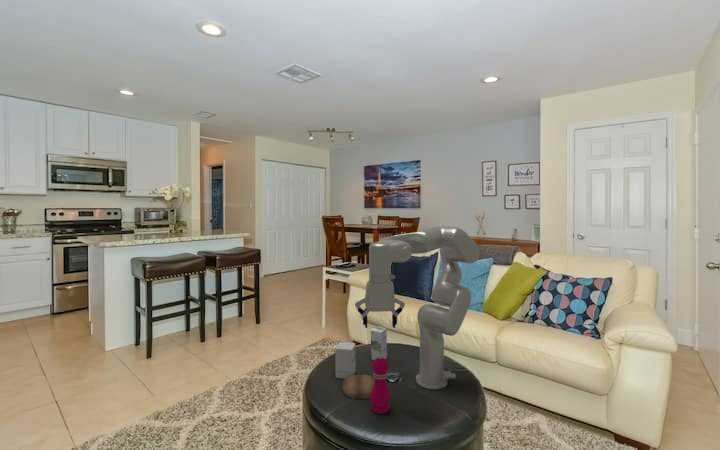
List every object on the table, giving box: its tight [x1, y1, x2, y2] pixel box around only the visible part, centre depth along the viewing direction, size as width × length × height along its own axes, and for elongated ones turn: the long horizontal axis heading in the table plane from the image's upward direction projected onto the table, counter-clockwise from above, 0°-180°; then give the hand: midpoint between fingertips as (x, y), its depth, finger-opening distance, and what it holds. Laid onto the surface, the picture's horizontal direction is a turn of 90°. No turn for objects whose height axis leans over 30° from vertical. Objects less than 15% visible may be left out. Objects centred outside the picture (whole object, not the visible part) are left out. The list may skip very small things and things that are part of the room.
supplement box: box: [334, 341, 357, 380], centre depth 151 cm, size 7×7×13 cm
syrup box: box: [370, 325, 388, 361], centre depth 165 cm, size 6×6×14 cm
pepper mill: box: [369, 354, 392, 415], centre depth 126 cm, size 7×7×20 cm
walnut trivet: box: [341, 373, 375, 400], centre depth 140 cm, size 14×14×2 cm
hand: (379, 326), depth 125 cm, fingers open, 9 cm apart
